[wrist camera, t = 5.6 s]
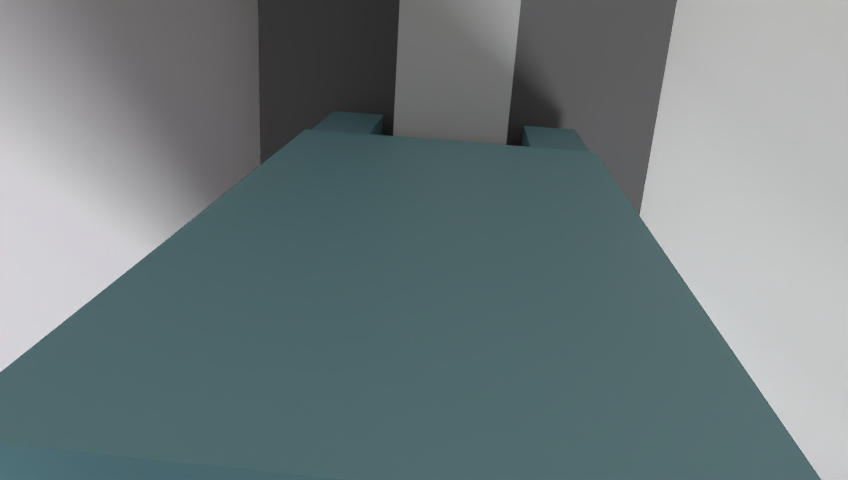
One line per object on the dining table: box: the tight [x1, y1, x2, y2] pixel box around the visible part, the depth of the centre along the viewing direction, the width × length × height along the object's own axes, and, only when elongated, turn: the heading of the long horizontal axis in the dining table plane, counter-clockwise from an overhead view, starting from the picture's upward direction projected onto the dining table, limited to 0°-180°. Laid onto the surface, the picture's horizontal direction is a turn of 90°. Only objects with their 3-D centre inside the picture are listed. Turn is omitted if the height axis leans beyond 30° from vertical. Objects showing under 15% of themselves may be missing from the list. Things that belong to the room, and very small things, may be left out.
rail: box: [258, 0, 677, 215], centre depth 16 cm, size 8×22×3 cm, turn 176°
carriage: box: [0, 111, 821, 480], centre depth 10 cm, size 5×7×11 cm
